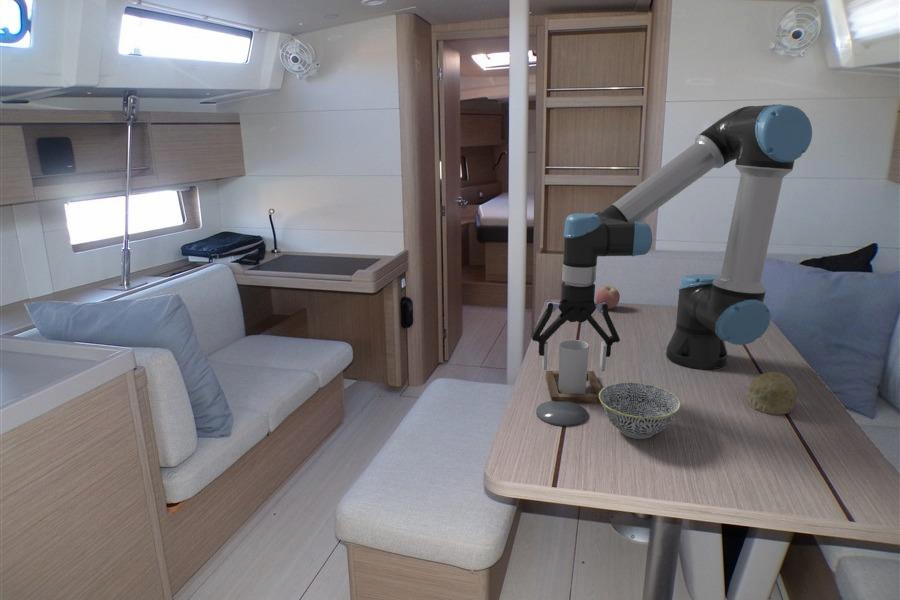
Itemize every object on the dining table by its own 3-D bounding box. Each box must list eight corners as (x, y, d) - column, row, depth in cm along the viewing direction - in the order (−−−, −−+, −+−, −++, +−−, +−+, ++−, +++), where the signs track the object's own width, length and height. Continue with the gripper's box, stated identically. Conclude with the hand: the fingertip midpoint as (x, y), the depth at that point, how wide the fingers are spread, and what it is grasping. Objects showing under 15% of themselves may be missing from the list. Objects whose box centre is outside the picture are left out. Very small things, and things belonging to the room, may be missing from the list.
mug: (582, 400, 138) (585, 351, 135) (554, 395, 141) (556, 347, 138) (591, 383, 147) (594, 337, 144) (564, 379, 150) (566, 333, 146)
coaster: (582, 403, 137) (582, 400, 137) (590, 426, 126) (591, 423, 126) (534, 402, 138) (534, 400, 137) (538, 425, 127) (538, 423, 127)
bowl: (666, 459, 114) (670, 423, 112) (586, 438, 122) (588, 404, 120) (684, 424, 127) (688, 391, 125) (610, 407, 135) (612, 376, 133)
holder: (593, 376, 151) (593, 371, 151) (604, 403, 137) (605, 397, 136) (545, 376, 152) (545, 370, 151) (551, 402, 137) (552, 396, 137)
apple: (595, 311, 202) (596, 289, 200) (594, 305, 209) (595, 283, 207) (619, 312, 201) (621, 289, 199) (617, 306, 208) (619, 283, 206)
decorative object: (760, 429, 131) (792, 403, 125) (730, 391, 137) (759, 365, 130) (783, 422, 136) (816, 397, 130) (753, 386, 142) (783, 360, 135)
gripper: (630, 278, 140) (622, 363, 145) (522, 277, 141) (519, 361, 147) (638, 287, 132) (630, 375, 138) (524, 285, 134) (521, 373, 140)
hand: (573, 368), depth 143 cm, fingers open, 13 cm apart
